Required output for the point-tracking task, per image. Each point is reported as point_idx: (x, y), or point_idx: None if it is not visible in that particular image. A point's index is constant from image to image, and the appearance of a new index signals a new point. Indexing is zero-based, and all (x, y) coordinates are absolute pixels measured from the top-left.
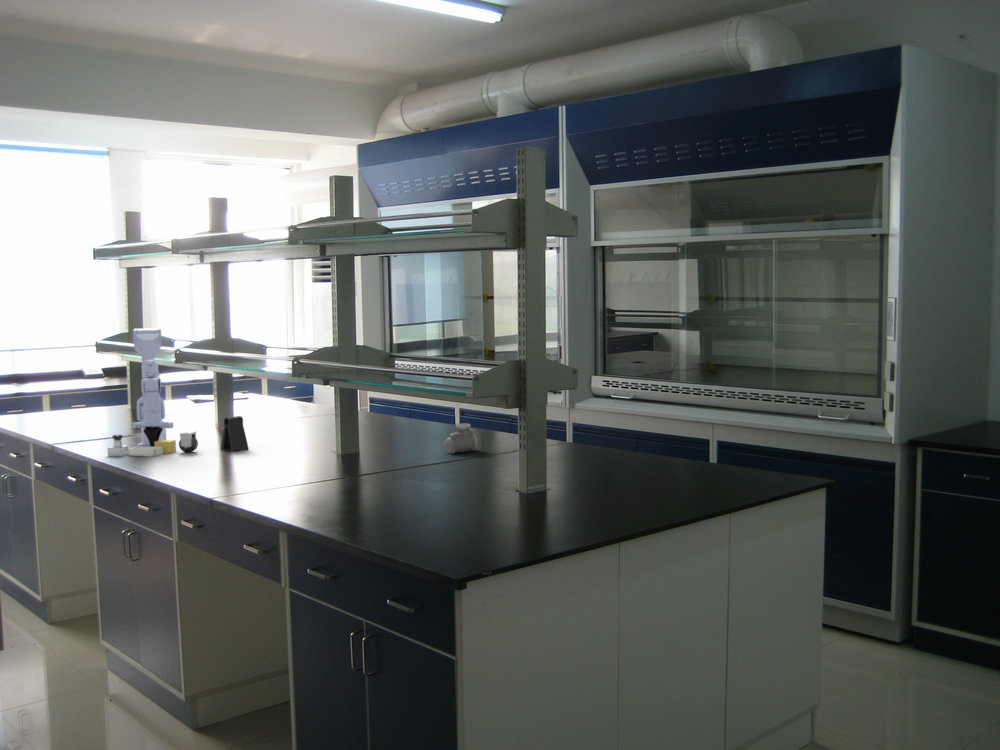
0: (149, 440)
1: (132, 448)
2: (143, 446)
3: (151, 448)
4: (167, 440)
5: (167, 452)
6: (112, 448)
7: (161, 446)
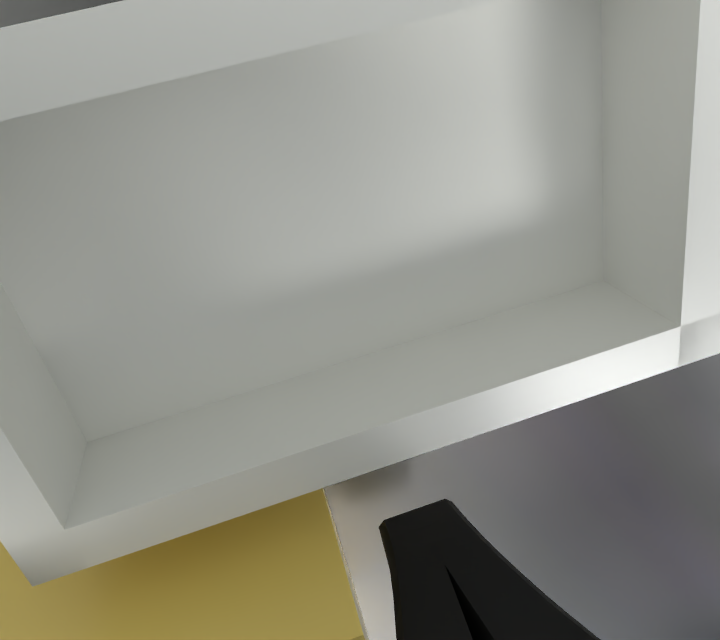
0: (542, 622)
1: (698, 42)
2: (564, 397)
3: (323, 414)
4: None
5: None
6: None
7: (150, 591)
